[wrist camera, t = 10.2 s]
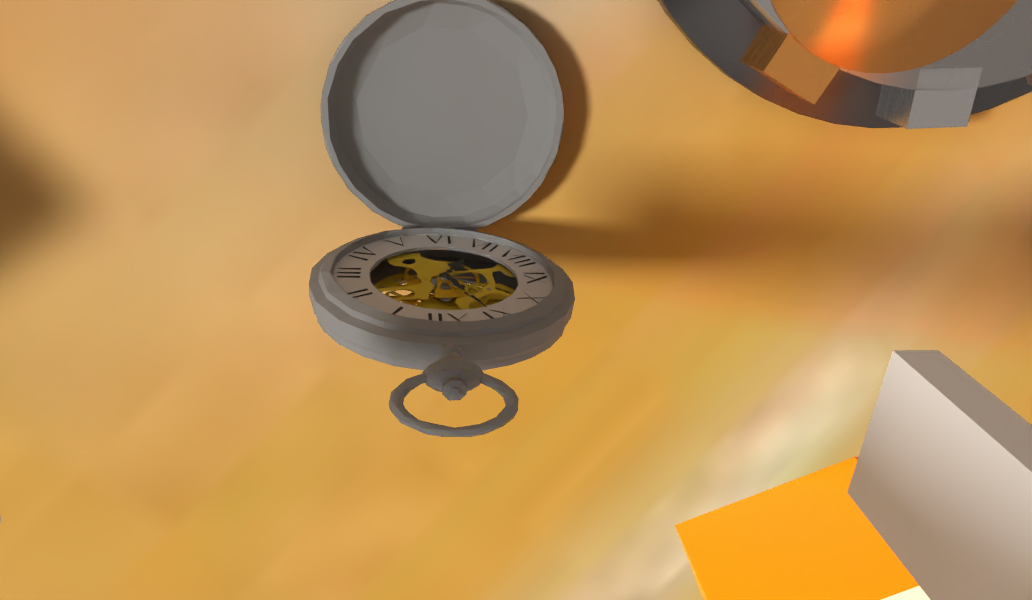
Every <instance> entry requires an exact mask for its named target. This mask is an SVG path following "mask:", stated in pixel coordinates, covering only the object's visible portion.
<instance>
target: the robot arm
mask: <svg viewBox="0 0 1032 600" xmlns="http://www.w3.org/2000/svg"><path fill="white" fill-rule="evenodd" d="M847 493H848V495H849V496H850V497H851V498H852V500H853V501H854V502H855V504H856V505H857V506H858V507H859V509H860V510H861V511H862V513H863V514H864V515H865V516H866V518H867V519H868V520H869V522H870V523H871V524H872V525H873V527H874V528H875V529H876V531H877V532H878V533H879V535H880V536H881V537H882V538H883V540H884V541H885V542H886V544H887V545H888V546H889V547H890V549H891V550H892V551H893V553H894V554H895V555H896V556H897V558H898V559H899V560H900V562H901V563H902V564H903V565H904V567H905V568H906V569H907V571H908V572H909V573H910V574H911V576H912V577H913V578H914V580H915V581H916V582H917V583H918V585H919V586H920V587H921V589H922V590H923V591H924V592H925V594H926V595H927V596H928V598H929V599H930V600H1032V425H1031V424H1030V423H1028V422H1027V421H1026V420H1025V419H1023V418H1022V417H1021V416H1020V415H1018V414H1017V413H1016V412H1015V411H1013V410H1012V409H1011V408H1010V407H1008V406H1007V405H1006V404H1005V403H1003V402H1002V401H1001V400H1000V399H998V398H997V397H996V396H995V395H993V394H992V393H991V392H990V391H988V390H987V389H986V388H985V387H983V386H982V385H981V384H980V383H978V382H977V381H976V380H975V379H973V378H972V377H971V376H970V375H968V374H967V373H966V372H965V371H963V370H962V369H961V368H960V367H958V366H957V365H956V364H955V363H953V362H952V361H951V360H950V359H948V358H947V357H946V356H945V355H943V354H942V353H941V352H940V351H938V350H907V351H893V352H892V355H891V358H890V361H889V364H888V368H887V371H886V374H885V377H884V380H883V383H882V386H881V389H880V392H879V395H878V398H877V401H876V404H875V408H874V411H873V414H872V417H871V420H870V423H869V426H868V429H867V432H866V435H865V438H864V441H863V445H862V448H861V451H860V454H859V457H858V460H857V463H856V466H855V469H854V472H853V475H852V478H851V481H850V485H849V488H848V491H847ZM0 523H1V517H0Z"/></svg>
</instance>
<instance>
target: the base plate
mask: <svg viewBox="0 0 1032 600" xmlns="http://www.w3.org/2000/svg"><path fill="white" fill-rule="evenodd" d="M658 1H659V3H660V5H661V6H662V8H663V10H664V11H665V13H666V14H667V15H668V17H669V18H670V19H671V20H672V22H673V23H674V24H675V25H676V26H677V28H678V29H679V30H680V31H681V32H682V34H683V35H684V36H685V37H686V38H687V40H688V41H689V42H690V43H691V44H692V46H693V47H694V48H696V49H697V50H698V51H699V52H700V53H701V54H702V55H703V56H704V57H706V58H707V59H708V60H709V61H710V62H711V63H712V64H713V65H715V66H716V67H717V68H718V69H719V70H720V71H721V72H722V73H724V74H725V75H727V76H728V77H730V78H731V79H733V80H734V81H736V82H738V83H739V84H741V85H742V86H744V87H745V88H747V89H748V90H750V91H751V92H753V93H755V94H756V95H758V96H760V97H762V98H764V99H766V100H768V101H771V102H773V103H775V104H777V105H780V106H782V107H784V108H786V109H788V110H791V111H793V112H795V113H797V114H801V115H804V116H808V117H812V118H815V119H819V120H823V121H826V122H830V123H834V124H842V125H850V126H859V127H867V128H892V127H901V126H899V125H897V124H895V123H892V122H890V121H888V120H886V119H883V118H881V117H879V116H877V115H875V114H876V109H877V104H878V100H879V95H880V90H881V85H882V84H879V83H875V82H872V81H870V80H867V79H864V78H861V77H859V76H856V75H853V74H850V73H848V72H845V71H842V70H838V72H837V73H836V75H835V76H834V77H833V79H832V80H831V82H830V83H829V84H828V86H827V87H826V89H825V90H824V92H823V93H822V94H821V96H820V97H819V99H818V100H817V102H816V103H815V104H812V103H810V102H808V101H806V100H804V99H802V98H800V97H798V96H796V95H794V94H791V93H789V92H788V91H786V90H784V89H783V88H781V87H780V86H778V85H777V84H775V83H774V82H772V81H770V80H769V79H767V78H766V77H764V76H763V75H761V74H760V73H758V72H756V71H755V70H753V69H752V68H750V67H749V66H747V65H746V64H744V63H742V62H741V61H740V60H741V58H742V56H743V55H744V53H745V52H746V50H747V49H748V47H749V46H750V44H751V43H752V41H753V40H754V38H755V37H756V35H757V33H758V32H759V30H760V29H761V27H762V26H763V25H761V24H760V23H759V22H758V21H757V20H756V19H755V18H754V17H753V16H752V15H751V14H750V12H749V11H748V10H747V9H746V8H745V7H744V6H743V5H742V4H741V3H740V2H739V0H658ZM1030 91H1032V85H1029V84H1027V81H1026V77H1022V78H1019V79H1015V80H1011V81H1007V82H1003V83H998V84H994V85H990V86H986V87H980V88H977V91H976V95H975V99H974V102H973V106H972V110H971V114H974V113H978V112H981V111H985V110H988V109H991V108H993V107H995V106H998V105H1000V104H1003V103H1005V102H1007V101H1010V100H1012V99H1014V98H1017V97H1019V96H1022V95H1024V94H1026V93H1029V92H1030ZM971 114H970V115H971Z"/></svg>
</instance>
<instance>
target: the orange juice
mask: <svg viewBox="0 0 1032 600" xmlns="http://www.w3.org/2000/svg"><path fill="white" fill-rule="evenodd" d="M856 463H857V459H856V458H855V457H854V458H851V459H848V460H846V461H843V462H840V463H838V464H835V465H833V466H830V467H827V468H825V469H822V470H819V471H817V472H814V473H811V474H809V475H806V476H804V477H801V478H798V479H796V480H793V481H790V482H788V483H785V484H783V485H780V486H777V487H775V488H772V489H769V490H767V491H764V492H761V493H759V494H756V495H754V496H751V497H748V498H746V499H743V500H740V501H738V502H735V503H732V504H730V505H727V506H725V507H722V508H719V509H717V510H714V511H711V512H709V513H706V514H704V515H701V516H698V517H696V518H693V519H690V520H688V521H685V522H682V523H680V524H677V525H675V526H676V529H677V532H678V534H679V537H680V539H681V542H682V545H683V547H684V550H685V552H686V555H687V557H688V560H689V563H690V565H691V568H692V570H693V573H694V576H695V578H696V581H697V583H698V586H699V589H700V591H701V594H702V596H703V599H704V600H930V599H929V598H928V596H927V595H926V594H925V592H924V591H923V590H922V589H921V587H920V586H919V585H918V583H917V582H916V581H915V580H914V578H913V577H912V576H911V574H910V573H909V572H908V571H907V569H906V568H905V567H904V565H903V564H902V563H901V562H900V560H899V559H898V558H897V556H896V555H895V554H894V553H893V551H892V550H891V549H890V547H889V546H888V545H887V544H886V542H885V541H884V540H883V538H882V537H881V536H880V535H879V533H878V532H877V531H876V529H875V528H874V527H873V525H872V524H871V523H870V522H869V520H868V519H867V518H866V516H865V515H864V514H863V513H862V511H861V510H860V509H859V507H858V506H857V505H856V504H855V502H854V501H853V500H852V498H851V497H850V496H849V495H848V493H847V491H848V488H849V485H850V481H851V478H852V475H853V472H854V469H855V466H856Z"/></svg>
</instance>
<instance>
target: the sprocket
mask: <svg viewBox="0 0 1032 600" xmlns="http://www.w3.org/2000/svg"><path fill="white" fill-rule="evenodd" d="M739 2H740V3H741V4H742V5H743V6H744V7H745V8H746V9H747V10H748V11H749V12H750V14H751V15H752V16H753V17H754V18H755V19H756V20H757V21H758V22H759V23H760V24H761V25H763V26H762V27H761V29H760V30H759V32H758V33H757V35H756V37H755V38H754V40H753V41H752V43H751V44H750V46H749V47H748V49H747V50H746V52H745V53H744V55H743V56H742V58H741V60H740V61H741V62H742V63H744V64H746V65H747V66H749V67H750V68H752V69H753V70H755V71H756V72H758V73H760V74H761V75H763V76H764V77H766V78H767V79H769V80H770V81H772V82H774V83H775V84H777V85H778V86H780V87H781V88H783V89H784V90H786V91H788V92H789V93H791V94H794V95H796V96H798V97H800V98H802V99H804V100H806V101H808V102H810V103H812V104H815V103H816V102H817V100H818V99H819V97H820V96H821V94H822V93H823V92H824V90H825V89H826V87H827V86H828V84H829V83H830V82H831V80H832V79H833V77H834V76H835V75H836V73H837V72H838V70H842V71H845V72H848V73H850V74H853V75H856V76H859V77H861V78H864V79H867V80H870V81H872V82H875V83H879V84H882V85H881V90H880V95H879V100H878V104H877V109H876V114H875V115H877V116H879V117H881V118H883V119H886V120H888V121H890V122H892V123H895V124H897V125H899V126H901V127H904V128H906V129H914V128H940V127H966V126H967V125H968V121H969V117H970V114H971V110H972V106H973V102H974V99H975V95H976V91H977V88H980V87H986V86H990V85H994V84H998V83H1003V82H1007V81H1011V80H1015V79H1019V78H1022V77H1026V81H1027V84H1029V85H1032V0H739Z"/></svg>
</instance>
